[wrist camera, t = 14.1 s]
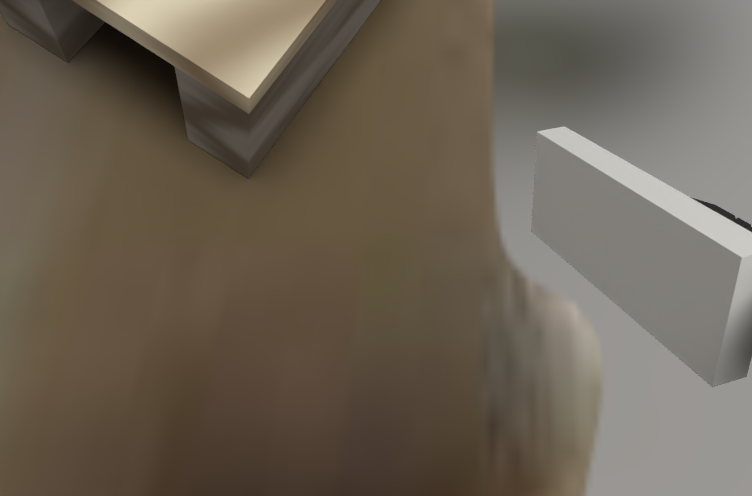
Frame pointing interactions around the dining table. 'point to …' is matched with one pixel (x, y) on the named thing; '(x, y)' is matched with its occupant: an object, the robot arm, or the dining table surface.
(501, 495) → the dining table surface
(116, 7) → the shelf
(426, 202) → the dining table surface
